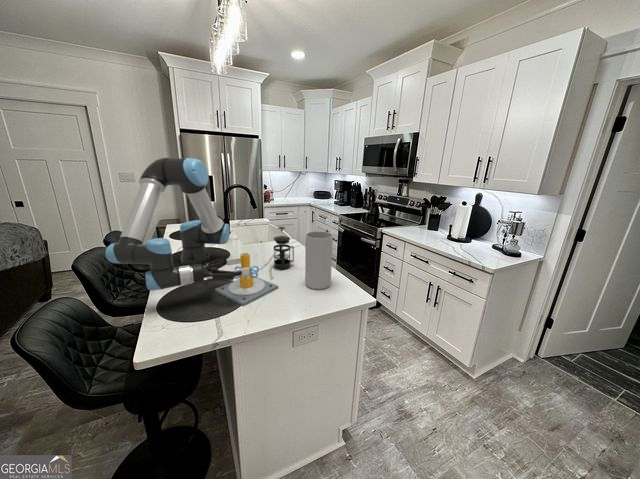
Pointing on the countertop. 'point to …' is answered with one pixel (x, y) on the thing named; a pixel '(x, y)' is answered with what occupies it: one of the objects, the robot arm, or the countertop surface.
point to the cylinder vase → (318, 259)
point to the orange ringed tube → (247, 279)
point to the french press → (282, 252)
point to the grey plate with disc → (246, 291)
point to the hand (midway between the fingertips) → (245, 265)
